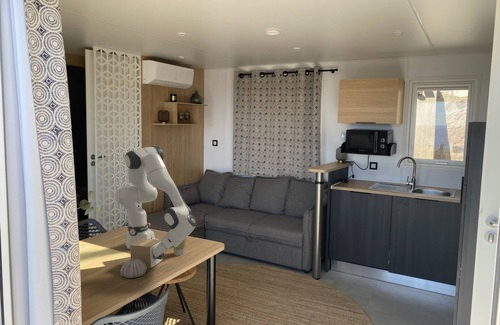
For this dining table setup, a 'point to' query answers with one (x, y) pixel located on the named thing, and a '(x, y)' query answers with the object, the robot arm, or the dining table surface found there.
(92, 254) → the dining table surface
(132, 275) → the sea urchin shell
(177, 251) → the coffee cup
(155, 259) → the flap
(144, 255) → the carton
